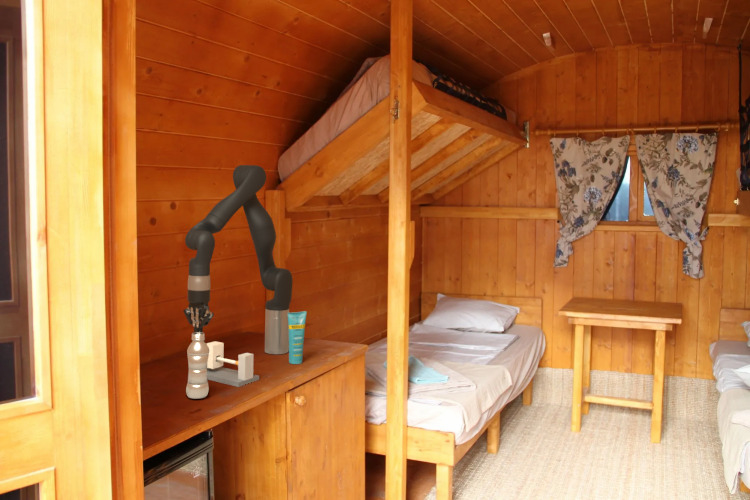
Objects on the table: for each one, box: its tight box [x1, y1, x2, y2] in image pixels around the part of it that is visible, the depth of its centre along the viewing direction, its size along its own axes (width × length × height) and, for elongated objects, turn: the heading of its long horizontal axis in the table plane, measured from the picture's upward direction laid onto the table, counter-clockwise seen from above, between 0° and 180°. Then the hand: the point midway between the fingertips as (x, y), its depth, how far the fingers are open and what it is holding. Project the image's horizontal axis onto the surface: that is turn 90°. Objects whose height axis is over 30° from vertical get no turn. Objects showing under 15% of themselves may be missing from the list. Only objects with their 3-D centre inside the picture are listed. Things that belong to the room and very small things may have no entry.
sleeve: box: [205, 341, 225, 369], centre depth 228 cm, size 5×4×8 cm
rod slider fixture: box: [207, 352, 260, 388], centre depth 225 cm, size 10×22×10 cm, turn 59°
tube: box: [288, 310, 308, 365], centre depth 247 cm, size 7×5×19 cm, turn 123°
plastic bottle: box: [185, 332, 210, 400], centre depth 203 cm, size 6×7×20 cm
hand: (198, 337), depth 231 cm, fingers closed
